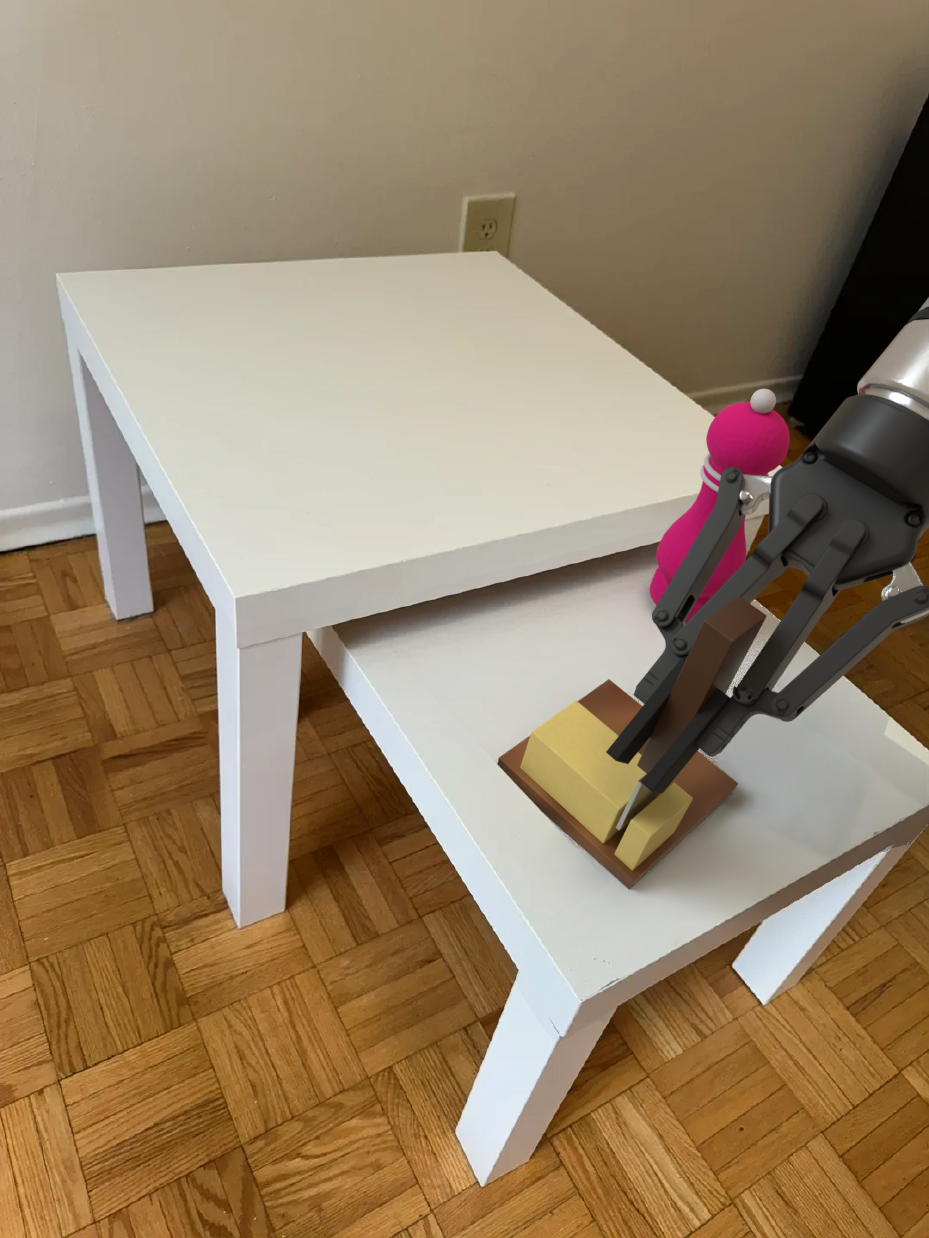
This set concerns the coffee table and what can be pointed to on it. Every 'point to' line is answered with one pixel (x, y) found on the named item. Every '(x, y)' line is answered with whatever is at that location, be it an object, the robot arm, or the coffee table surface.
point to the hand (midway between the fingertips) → (634, 772)
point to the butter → (599, 783)
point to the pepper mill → (732, 441)
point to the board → (694, 779)
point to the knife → (698, 686)
